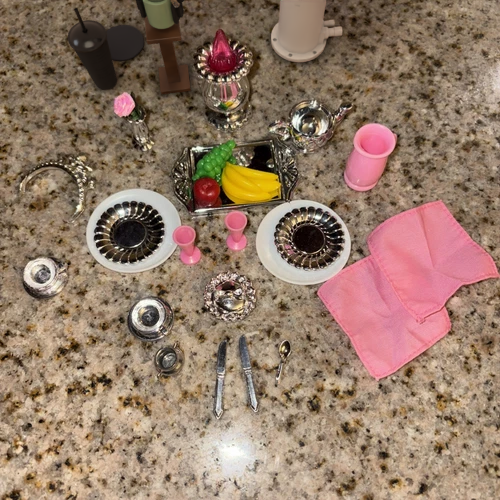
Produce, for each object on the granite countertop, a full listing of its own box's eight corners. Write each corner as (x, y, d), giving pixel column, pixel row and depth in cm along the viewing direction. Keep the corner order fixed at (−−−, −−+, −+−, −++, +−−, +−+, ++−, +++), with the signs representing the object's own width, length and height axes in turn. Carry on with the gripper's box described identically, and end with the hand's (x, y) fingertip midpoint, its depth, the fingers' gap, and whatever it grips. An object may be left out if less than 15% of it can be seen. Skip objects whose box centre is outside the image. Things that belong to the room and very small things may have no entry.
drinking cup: (121, 95, 107) (94, 26, 88) (87, 95, 107) (51, 25, 89) (125, 67, 110) (99, -7, 91) (91, 66, 110) (58, -7, 91)
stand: (187, 67, 110) (177, 10, 95) (190, 91, 108) (180, 37, 93) (159, 70, 110) (144, 14, 94) (161, 94, 107) (146, 40, 92)
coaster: (142, 23, 114) (142, 22, 114) (145, 58, 111) (145, 57, 110) (99, 28, 114) (98, 27, 113) (101, 63, 110) (100, 62, 110)
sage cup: (176, 3, 93) (171, -22, 87) (178, 27, 91) (173, 2, 86) (146, 7, 93) (139, -18, 87) (148, 30, 91) (141, 6, 85)
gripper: (200, -87, 75) (211, 8, 92) (94, -104, 76) (125, -8, 93) (187, -51, 72) (201, 39, 89) (77, -70, 74) (112, 22, 91)
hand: (162, 14), depth 91 cm, fingers closed on sage cup, 5 cm apart
